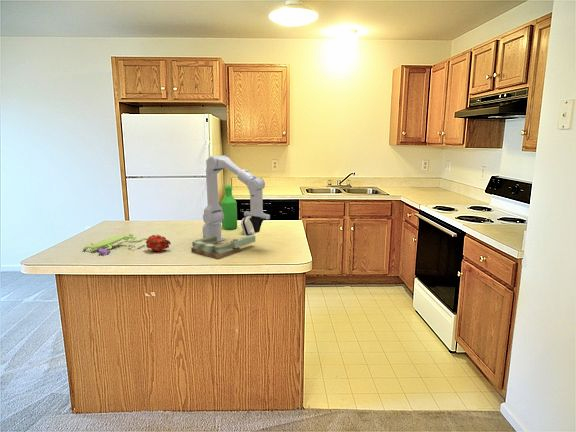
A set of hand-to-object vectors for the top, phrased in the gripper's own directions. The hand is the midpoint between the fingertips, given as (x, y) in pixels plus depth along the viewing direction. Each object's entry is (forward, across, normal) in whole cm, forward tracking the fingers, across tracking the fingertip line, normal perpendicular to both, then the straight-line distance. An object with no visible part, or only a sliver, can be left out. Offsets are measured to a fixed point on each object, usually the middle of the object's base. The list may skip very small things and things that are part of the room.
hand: (257, 232), depth 185 cm
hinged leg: (+6, +6, +4) cm, 9 cm away
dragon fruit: (+9, +36, +30) cm, 48 cm away
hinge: (+9, +26, -23) cm, 35 cm away
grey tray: (+8, +13, +14) cm, 21 cm away
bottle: (+9, +40, -22) cm, 46 cm away
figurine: (+9, +57, +39) cm, 69 cm away
